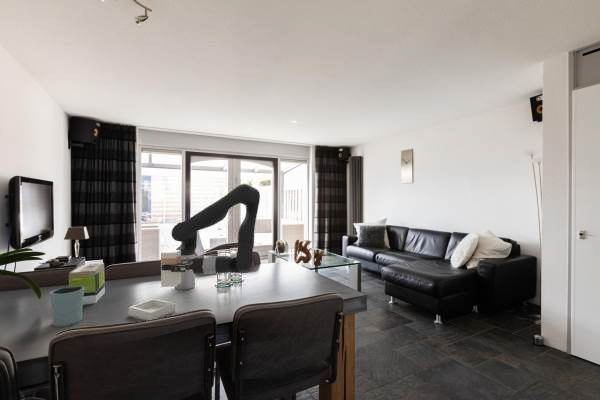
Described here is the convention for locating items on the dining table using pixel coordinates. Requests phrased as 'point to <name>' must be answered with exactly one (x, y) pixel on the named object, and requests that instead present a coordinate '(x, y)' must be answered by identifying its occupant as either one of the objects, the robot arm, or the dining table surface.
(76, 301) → the light blue cup
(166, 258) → the carton
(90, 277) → the tea box
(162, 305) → the white rectangular dish
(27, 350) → the dining table surface
